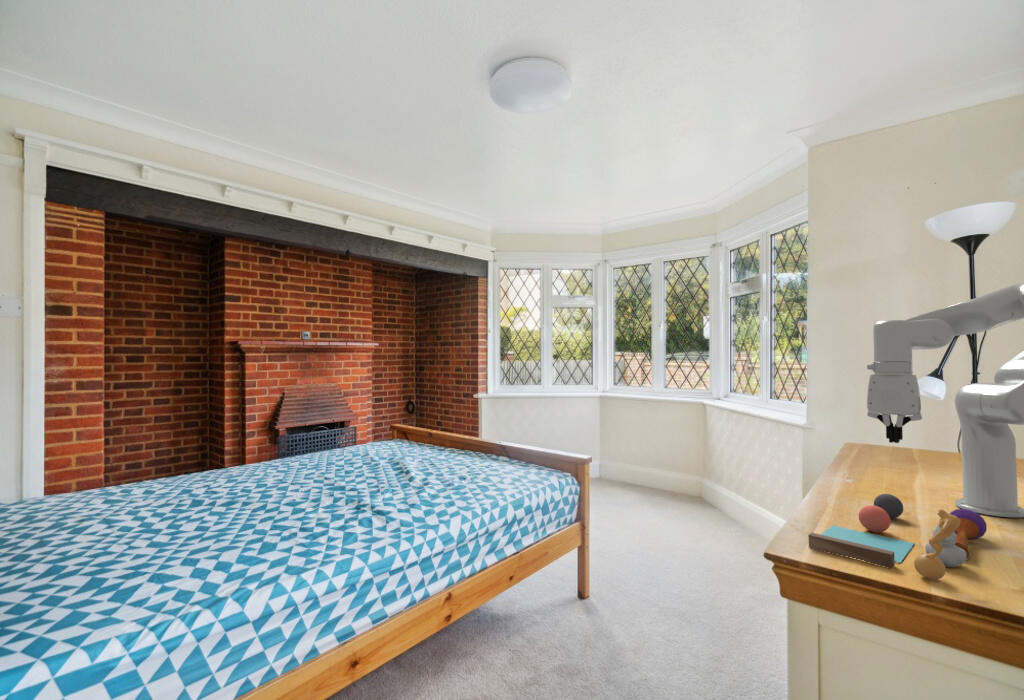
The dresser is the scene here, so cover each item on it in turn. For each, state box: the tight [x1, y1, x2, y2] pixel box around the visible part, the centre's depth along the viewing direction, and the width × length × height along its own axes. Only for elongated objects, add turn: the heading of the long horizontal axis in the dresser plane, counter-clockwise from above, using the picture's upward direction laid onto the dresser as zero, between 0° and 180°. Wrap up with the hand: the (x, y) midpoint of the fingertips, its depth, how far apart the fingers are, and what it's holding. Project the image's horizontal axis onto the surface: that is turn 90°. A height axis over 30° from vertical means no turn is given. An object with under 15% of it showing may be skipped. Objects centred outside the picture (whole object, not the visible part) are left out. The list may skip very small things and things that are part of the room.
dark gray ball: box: [873, 493, 904, 519], centre depth 111 cm, size 6×6×6 cm
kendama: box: [949, 508, 988, 560], centre depth 94 cm, size 6×6×20 cm
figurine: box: [913, 508, 960, 581], centre depth 78 cm, size 8×6×12 cm
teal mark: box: [821, 525, 915, 564], centre depth 95 cm, size 14×14×1 cm
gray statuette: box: [924, 524, 967, 568], centre depth 85 cm, size 5×7×8 cm
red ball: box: [858, 504, 891, 533], centre depth 102 cm, size 6×6×6 cm
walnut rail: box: [807, 532, 896, 569], centre depth 88 cm, size 2×13×2 cm, turn 41°
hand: (894, 442), depth 118 cm, fingers closed
